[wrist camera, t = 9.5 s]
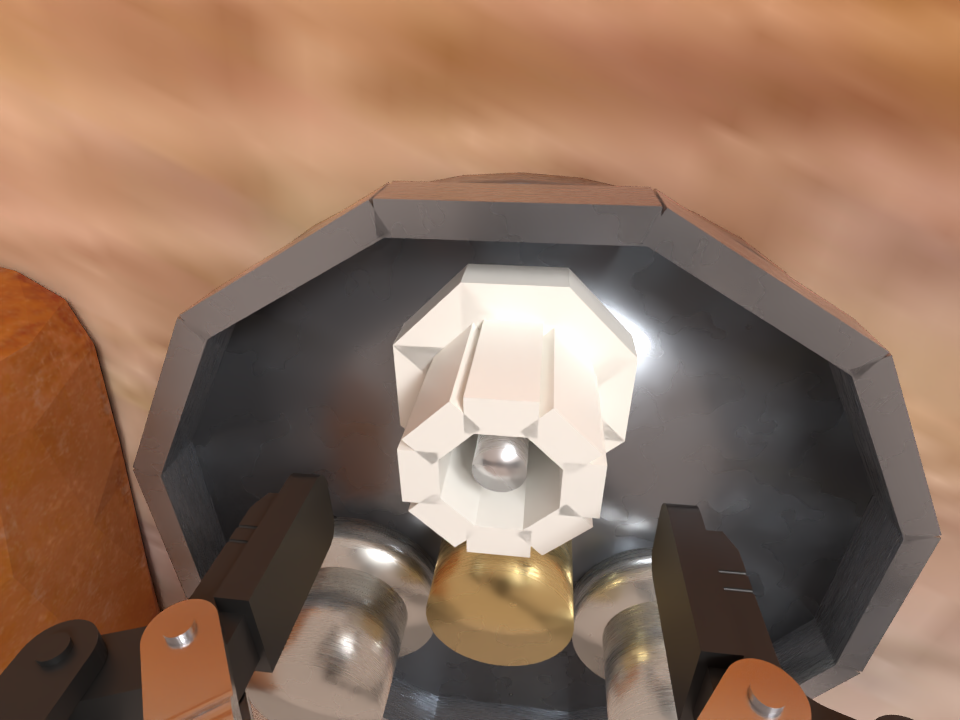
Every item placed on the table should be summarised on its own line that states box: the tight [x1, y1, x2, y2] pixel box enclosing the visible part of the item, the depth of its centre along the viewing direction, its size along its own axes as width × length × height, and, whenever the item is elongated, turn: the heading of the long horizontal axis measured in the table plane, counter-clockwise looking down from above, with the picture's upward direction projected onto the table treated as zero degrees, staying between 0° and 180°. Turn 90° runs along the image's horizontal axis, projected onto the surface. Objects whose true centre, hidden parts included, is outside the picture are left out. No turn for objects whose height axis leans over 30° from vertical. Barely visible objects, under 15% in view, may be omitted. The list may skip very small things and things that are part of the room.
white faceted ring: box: [393, 263, 638, 558], centre depth 16 cm, size 7×7×6 cm
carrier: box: [133, 173, 941, 720], centre depth 20 cm, size 27×27×7 cm
